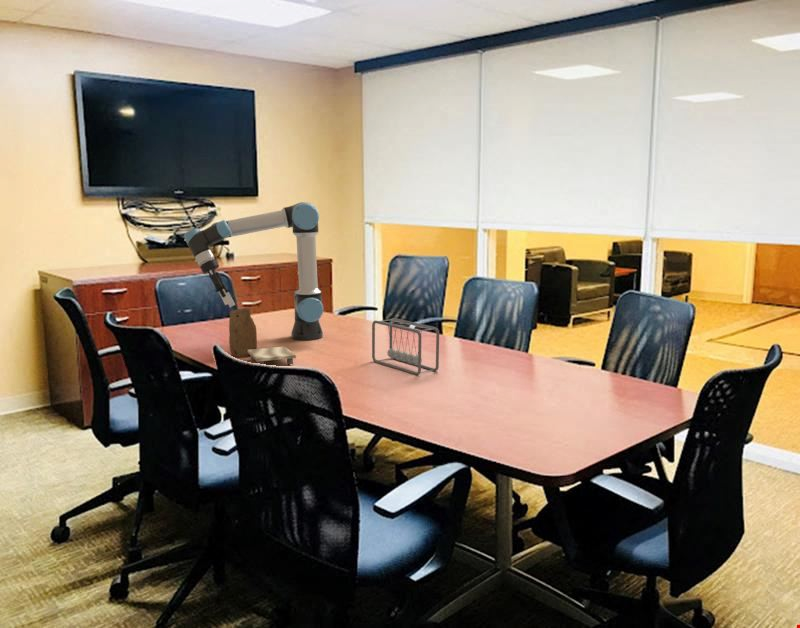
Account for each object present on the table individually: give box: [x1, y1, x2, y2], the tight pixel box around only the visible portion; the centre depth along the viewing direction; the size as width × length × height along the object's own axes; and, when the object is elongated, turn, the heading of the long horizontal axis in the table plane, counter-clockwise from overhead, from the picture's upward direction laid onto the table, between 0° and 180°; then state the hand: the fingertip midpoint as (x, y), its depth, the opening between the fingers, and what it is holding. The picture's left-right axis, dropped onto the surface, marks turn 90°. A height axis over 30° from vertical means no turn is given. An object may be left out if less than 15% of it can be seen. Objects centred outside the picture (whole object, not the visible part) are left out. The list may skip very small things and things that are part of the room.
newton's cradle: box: [371, 317, 440, 376], centre depth 277 cm, size 30×10×18 cm, turn 40°
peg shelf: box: [248, 346, 297, 365], centre depth 283 cm, size 16×17×4 cm
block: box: [228, 308, 258, 358], centre depth 293 cm, size 11×8×20 cm
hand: (230, 304), depth 301 cm, fingers open, 13 cm apart
